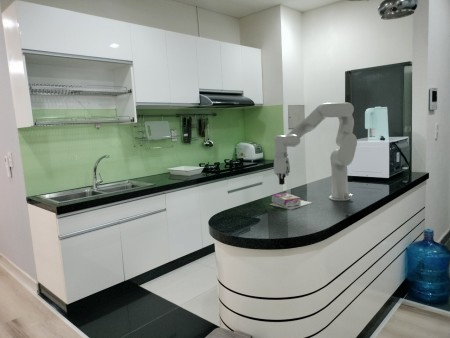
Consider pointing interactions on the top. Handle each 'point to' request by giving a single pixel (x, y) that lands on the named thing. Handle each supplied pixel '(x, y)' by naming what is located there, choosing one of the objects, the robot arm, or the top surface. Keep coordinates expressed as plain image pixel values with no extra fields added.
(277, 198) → the candy bar box
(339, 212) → the top surface
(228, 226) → the top surface
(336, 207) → the top surface
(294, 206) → the mat
